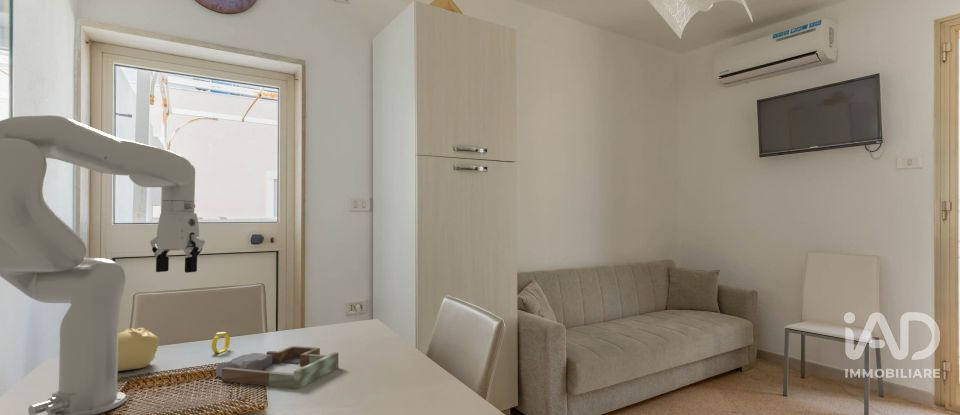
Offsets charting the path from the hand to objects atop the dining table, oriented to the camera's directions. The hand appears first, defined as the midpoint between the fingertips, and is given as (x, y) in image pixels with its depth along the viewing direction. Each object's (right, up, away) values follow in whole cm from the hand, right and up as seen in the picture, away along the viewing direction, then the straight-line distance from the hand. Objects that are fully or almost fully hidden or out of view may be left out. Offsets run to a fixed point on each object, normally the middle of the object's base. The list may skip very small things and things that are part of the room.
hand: (176, 271), depth 122 cm
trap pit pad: (+30, -26, +6) cm, 40 cm away
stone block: (+19, -27, -1) cm, 33 cm away
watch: (+2, -27, +17) cm, 32 cm away
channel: (+32, -26, -2) cm, 41 cm away
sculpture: (-13, -27, +1) cm, 30 cm away
